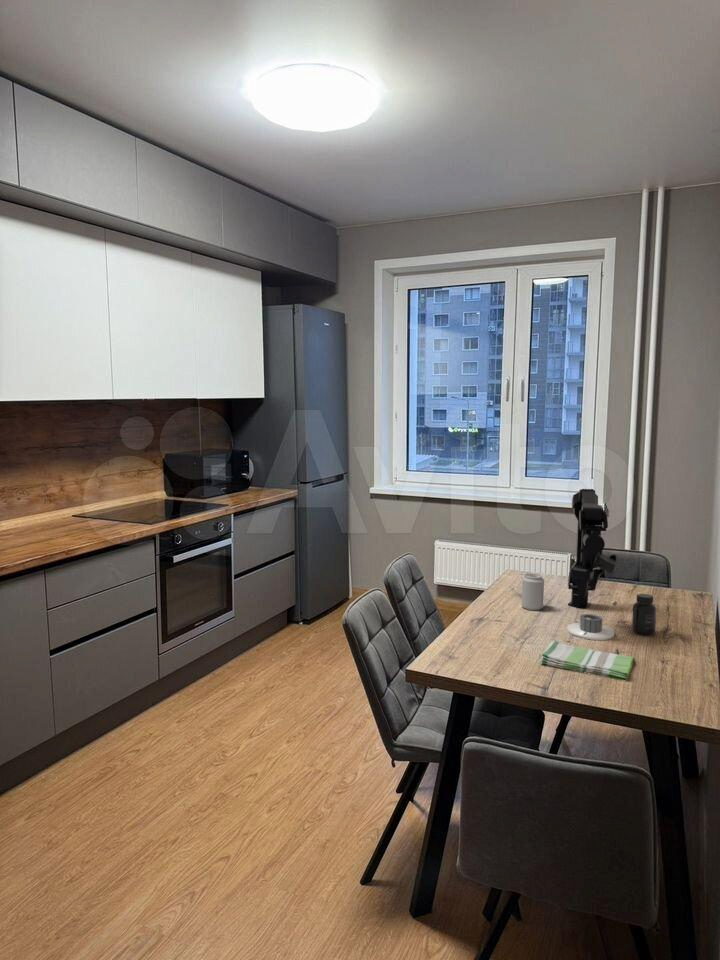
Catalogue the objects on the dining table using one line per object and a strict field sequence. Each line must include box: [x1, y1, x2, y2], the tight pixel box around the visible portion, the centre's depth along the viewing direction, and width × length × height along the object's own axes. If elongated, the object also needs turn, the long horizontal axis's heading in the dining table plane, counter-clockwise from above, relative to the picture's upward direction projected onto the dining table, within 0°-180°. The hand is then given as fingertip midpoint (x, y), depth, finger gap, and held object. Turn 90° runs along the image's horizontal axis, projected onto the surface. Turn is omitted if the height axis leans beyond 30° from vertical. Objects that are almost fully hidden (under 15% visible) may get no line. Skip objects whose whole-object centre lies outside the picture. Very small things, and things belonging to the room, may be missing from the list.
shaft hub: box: [567, 621, 615, 641], centre depth 206 cm, size 14×14×4 cm
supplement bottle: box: [631, 593, 657, 636], centre depth 206 cm, size 7×7×12 cm
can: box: [521, 572, 545, 611], centre depth 231 cm, size 8×8×12 cm
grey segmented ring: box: [579, 613, 603, 633], centre depth 206 cm, size 6×6×4 cm
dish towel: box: [539, 640, 636, 682], centre depth 182 cm, size 17×23×4 cm
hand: (588, 593), depth 209 cm, fingers open, 9 cm apart
